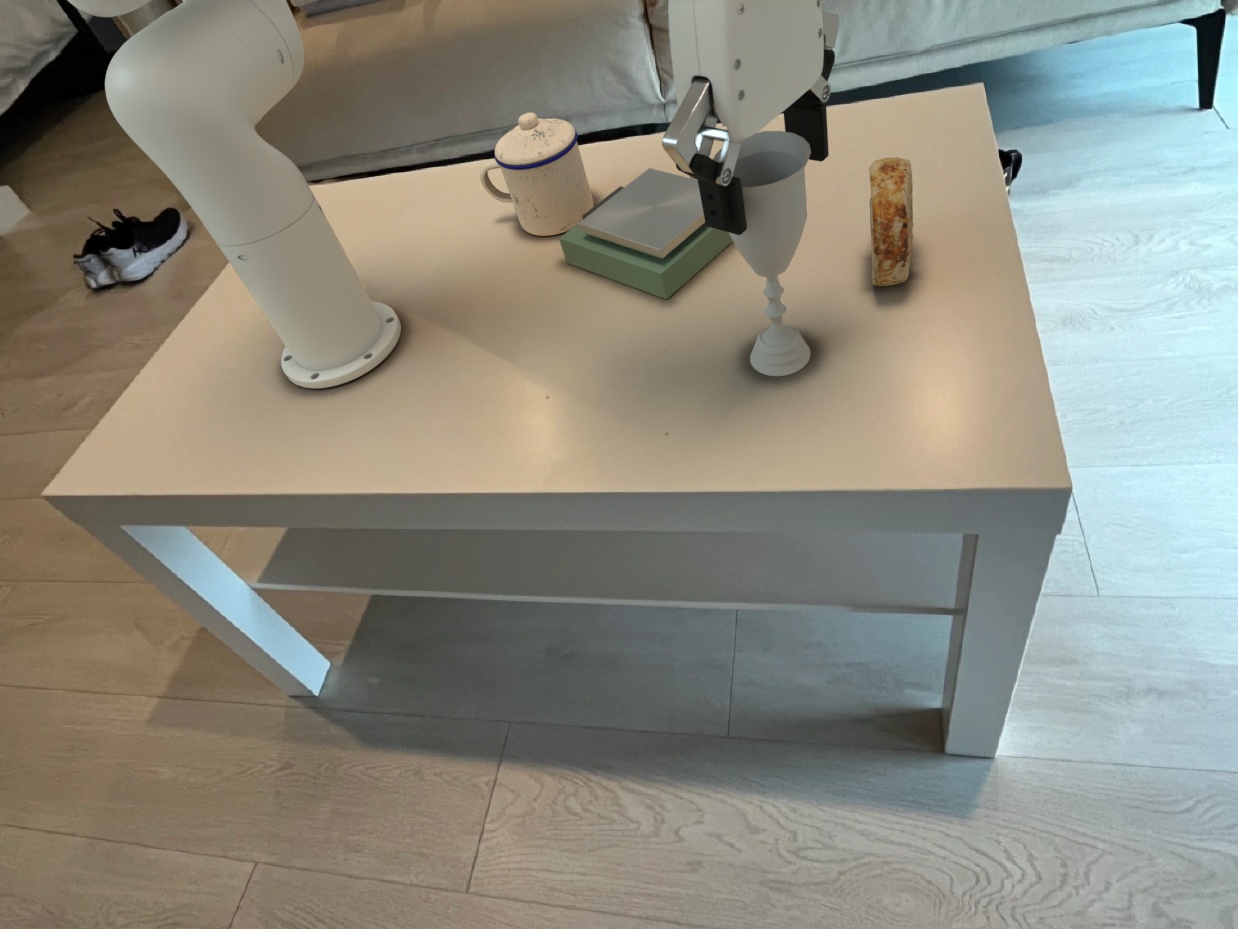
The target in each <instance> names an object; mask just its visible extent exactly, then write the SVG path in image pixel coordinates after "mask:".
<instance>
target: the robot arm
mask: <svg viewBox="0 0 1238 929" xmlns="http://www.w3.org/2000/svg"><path fill="white" fill-rule="evenodd" d="M181 1H182V2H181V3H180V4H179V5H177V6H175V7H174V8H172V9H170V10H168V11H166V12H165V13H163V14H162V15H161V16H159V17H158V18H156V19H155V20H154V21H152V22H150V23H149V24H148V25H146V26H145V27H144V28H142V29H141V30H139V31H138V32H136V33H135V34H133V35H132V36H130V38H129V39H127V40H126V41H125V42H124V43H123V44H122V45H121V46H120V47H119V49H118V50H117V51H116V52H115V53H114V55H113V57H112V58H111V60H110V62H109V64H108V66H107V70H106V73H105V79H104V92H105V98H106V101H107V104H108V107H109V110H110V111H111V113H112V115H113V117H114V118H115V120H116V122H117V123H118V125H119V126H120V127H121V128H122V130H123V131H124V132H125V133H126V135H127V136H128V137H129V138H130V139H131V140H132V141H133V142H134V144H136V145H137V146H138V148H139V149H141V151H143V152H144V154H145V155H147V157H148V158H149V159H150V160H151V161H152V162H153V163H154V164H155V165H156V166H157V167H158V168H159V170H160V171H162V173H163V174H164V175H165V176H166V177H167V178H168V180H169V181H170V182H171V183H172V184H173V185H174V187H175V188H176V189H177V190H178V192H179V193H180V194H181V195H182V197H183V198H184V200H185V201H186V202H187V204H188V205H189V206H190V208H191V209H192V211H193V212H194V213H195V214H196V216H197V217H198V219H199V220H200V222H201V223H202V225H203V227H204V228H205V229H206V231H208V233H209V235H210V237H211V238H212V240H213V241H214V242H215V243H216V245H217V246H218V248H219V249H220V250H221V252H222V254H223V256H224V257H225V259H226V260H227V261H228V262H229V264H230V266H231V267H232V268H233V269H232V270H234V272H235V273H236V274H237V276H238V278H239V279H240V280H241V282H242V283H243V285H244V286H245V288H246V289H247V291H248V292H249V294H250V295H251V297H252V298H253V300H254V301H255V303H256V304H257V306H258V307H259V309H260V310H261V312H262V314H264V316H265V317H266V319H267V321H268V323H269V324H270V325H271V327H272V328H273V329H274V331H275V332H276V334H277V335H278V337H279V338H280V340H281V341H282V343H283V344H284V346H285V347H284V348H283V351H282V353H281V357H280V366H281V369H282V371H283V374H284V375H286V377H287V378H288V379H289V381H290V382H291V383H293V384H294V385H296V386H299V387H301V388H307V389H326V388H333V387H336V386H337V387H338V386H340V385H343V384H346V383H348V382H351V381H353V380H356V379H358V378H360V377H361V376H363V375H365V374H367V373H369V372H371V371H372V370H373V369H375V368H376V367H377V366H379V365H380V364H381V363H382V362H383V361H384V360H385V359H386V358H387V357H388V356H389V355H390V354H391V353H392V352H393V350H394V348H395V347H396V345H397V344H398V341H399V340H400V336H401V334H402V333H401V332H402V324H401V321H400V318H399V317H398V315H397V313H396V311H395V310H394V309H393V308H392V307H391V306H389V305H387V304H386V303H384V302H380V301H376V300H372V298H371V297H370V296H369V293H368V291H367V289H366V288H365V286H364V284H363V282H362V280H361V278H360V277H359V275H358V273H357V271H356V270H355V267H354V265H353V264H352V262H351V260H350V259H349V256H348V254H347V252H346V251H345V249H344V247H343V245H342V243H341V242H340V240H339V238H338V237H337V236H338V235H337V234H336V233H335V230H334V229H333V227H332V225H331V223H330V222H329V219H328V218H327V216H326V214H325V212H324V210H323V208H322V207H321V205H320V203H319V202H318V199H317V198H316V196H315V195H314V192H313V191H312V189H311V187H310V185H309V184H308V181H307V180H306V178H305V176H304V175H303V173H302V172H301V170H300V169H299V168H298V166H297V165H296V164H295V163H294V162H293V160H291V159H290V158H289V157H288V156H287V155H285V153H283V152H281V151H280V150H279V149H277V148H276V147H274V146H273V145H271V144H270V143H268V142H267V141H266V140H265V139H264V138H262V137H261V136H260V135H259V133H258V132H257V130H256V126H257V124H258V123H259V122H260V121H261V120H262V119H263V118H264V117H265V115H266V114H267V113H268V112H269V111H271V109H273V108H274V107H275V106H276V105H277V104H278V103H280V101H281V100H282V99H283V98H284V97H286V95H287V94H289V93H290V92H291V90H292V89H293V88H294V87H295V86H296V85H297V83H298V82H299V80H300V79H301V76H302V74H303V71H304V68H305V67H304V66H305V48H304V43H303V38H302V36H301V33H300V29H299V27H298V24H297V21H296V19H295V16H294V14H293V12H292V10H291V8H290V6H289V4H288V2H287V0H181ZM67 2H68V3H69V4H71V5H72V6H73V7H75V9H78V10H80V11H82V12H83V13H86V14H88V15H91V16H93V17H99V18H113V17H118V16H123V15H126V14H129V13H131V12H133V11H135V10H137V9H140V8H143V7H144V6H145V5H147V4H149V3H151V2H153V0H67ZM667 13H668V14H667V15H668V16H667V17H668V18H667V19H668V33H669V35H668V36H669V47H670V48H669V49H670V57H671V67H672V75H673V81H674V90H675V96H676V98H675V99H676V103H677V110H676V112H675V114H674V116H673V118H672V120H671V122H670V123H669V125H668V127H667V129H666V131H665V132H664V134H663V137H662V139H661V147H662V148H663V150H664V151H665V152H666V154H667V155H668V156H669V158H670V159H671V161H672V162H673V163H674V164H675V168H676V169H677V170H678V171H679V172H681V173H683V174H685V175H687V176H688V178H691V179H695V180H698V185H699V191H700V196H701V202H702V207H703V213H704V219H705V223H706V224H707V226H709V227H711V228H715V229H718V230H722V231H725V232H729V233H733V234H736V235H741V234H742V233H743V232H744V231H746V229H747V222H746V215H745V207H744V200H743V193H742V186H741V181H740V178H737V177H733V173H734V170H735V166H736V163H737V159H738V156H739V152H740V149H741V145H742V142H743V141H745V140H747V139H749V138H750V137H752V136H753V135H754V134H756V133H758V132H760V131H761V130H762V129H763V128H765V127H766V126H767V125H769V124H770V123H771V122H773V120H775V119H776V118H777V117H778V116H780V114H782V113H783V121H784V132H790V133H794V134H796V135H798V136H800V137H803V138H804V139H805V140H806V141H807V142H808V143H809V145H810V150H811V154H810V157H809V159H808V161H809V160H810V161H815V162H822V163H823V162H824V160H826V159H827V158H828V157H829V155H830V154H829V152H830V151H829V137H828V136H829V135H828V134H829V133H828V114H827V113H828V112H827V104H824V103H827V101H829V98H830V96H831V93H832V87H831V84H830V83H829V82H828V81H829V78H830V76H831V73H832V70H833V67H834V64H835V63H836V53H835V51H834V49H835V47H836V42H837V38H838V32H839V26H840V16H839V15H838V14H835V13H831V12H824V11H822V0H667ZM718 120H719V121H720V123H721V125H722V127H726V129H724V128H719V127H717V123H718ZM715 141H717V142H722V143H723V144H722V147H721V149H722V151H721V154H720V158H719V162H717V161H715V160H713V158H711V157H710V156H711V152H712V149H713V145H714V142H715Z"/></svg>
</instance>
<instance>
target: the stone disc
mask: <svg viewBox="0 0 1238 929" xmlns="http://www.w3.org/2000/svg"><path fill="white" fill-rule="evenodd" d="M868 169H869V172H868V173H869V183H870V198H869V224H870V226H869V227H870V242H871V247H870V248H871V262H872V263H871V266H872V269H871V282H872V285H873V286H877V287H887V286H894V285H899V284H902V283H904V282H906V281H907V279H908V277H909V276H910V268H911V262H912V261H911V260H912V256H913V245H914V244H913V241H914V208H913V206H914V205H913V204H914V203H913V189H914V188H913V171H912V163H911V160H909V159H905V158H902V157H885V158H884V157H883V158H880V159H876V160H874V161H873V162H872V163H871V165H870V166H869V168H868Z"/></svg>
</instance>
